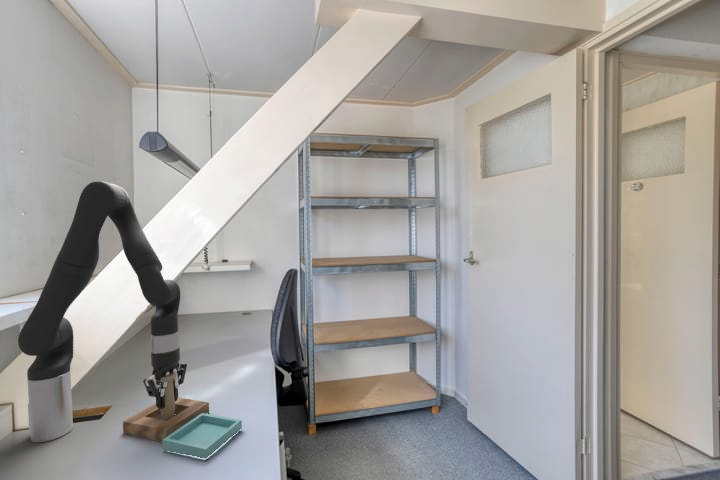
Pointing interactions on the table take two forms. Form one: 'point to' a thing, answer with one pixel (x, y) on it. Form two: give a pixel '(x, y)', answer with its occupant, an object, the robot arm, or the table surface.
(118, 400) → the table surface
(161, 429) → the socket block
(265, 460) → the table surface
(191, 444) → the tray
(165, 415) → the handle
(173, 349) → the robot arm
